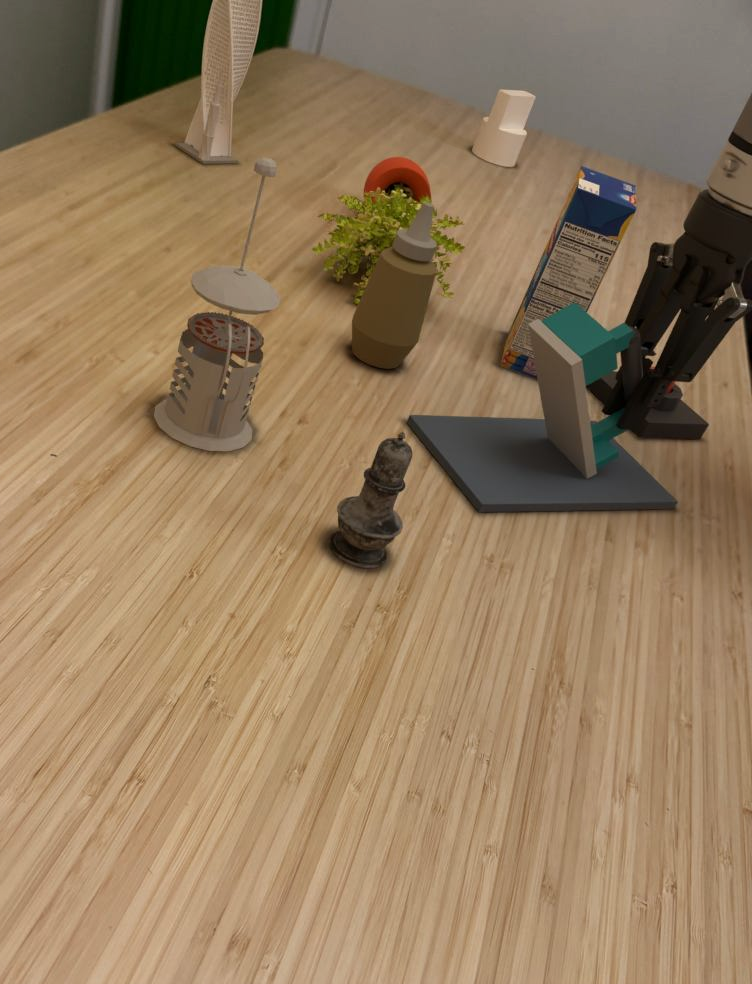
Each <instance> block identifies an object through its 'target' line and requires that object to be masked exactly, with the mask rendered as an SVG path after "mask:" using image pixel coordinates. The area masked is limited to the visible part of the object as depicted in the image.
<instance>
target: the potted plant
mask: <svg viewBox="0 0 752 984" xmlns="http://www.w3.org/2000/svg"><path fill="white" fill-rule="evenodd" d="M362 195H363V198H362V200H360V199H359V198H358V197H356V196H352V195H345V194H344V193H342V194H341V196H340V195H338V196H337V199H338V200H340V203H341V204H344V206H345V207H346V206H347V208H348V209H347V210H348V211H347V213H350V212H351V211H353V212H352V213H353V214H356V212H358V214H356V215H354V216H346V217H345V215H343V214H340V215H339V214H337V213H331V212H330V213H321V214H318V215H317V218H321V217H322V219H324V221H325V222H327V223H328V224H331V223H332V222H334V221H335V223H336V227H335V228H334V230H329V229H326V230H325V231H326V232H327V234H328V235H329V236H331V237H330V238H329V241H330V242H328V239H326V238H324V240H323V242H324V244H322V243H321V242H320V241H318V244H317V246H313V247H311V250H312V251H313V252H315V253H314V255H319V254H320V252H321V253H323V254H324V253H325V252H326V251H327V248H328V249H333V248H335V247H336V246H337V247H336V254H337V255H336V254H334V252H331V255H329V256H328V258H327V259H326V262H323V265H324V269H323V270H324V272H325V271H329V270H334V266H333V265H335V264H336V261H340V262H341V263H342V264H341V265H340V264H339V263H337V267H335V273H332V274H331V276H333V277H334V278H336V282H339V281H340V279H343V278H344V274H345V273H347V271H348V274H350V275H354V274H356V273H358V271H359V268H360V266H359V265H360V264H361V263H362V262H363V261H364V260H366V258H364V257H363V256H366V257H368V260H370V263H369V262H365V264H366V270H367V271H366V272H365V275H364V273H362V275H361V277H360V279H361V281H360V282H359V283H357V282H353V285H354V286H356V287H357V292H356V293H355V296H354V299H353V301H352V302H353V303H354V304H356V305H358V304H359V302H360V299H361V298H358V297H362V295H363V292H364V290H365V288H366V286H367V283H368V281H369V279H370V277H371V274H372V272H373V270H374V267H375V265H376V263H377V261H378V258H379V256H380V254H381V252H382V251H383V250H385V249H387V248H389V247H392V246H393V242H394V239H395V236H396V233H397V231H398V230H401V229H408V228H409V227H410V225H411V223H412V222H413V220H414V218H415V217H416V215H417V213H418V211H419V210H420V208H421V206H422V205H423V203H424V202H428V203H431V204H432V203H433V201H432V193H431V185H430V182H429V179H428V176H427V175H426V173H425V171H424V170H423V169H422V167H421V166H420V165H419V164H418V163H416V162H415V161H413V160H412V159H410V158H407V157H403V156H391V157H388V158H385V159H383V160H381V161H380V162H378V163H377V164H376V165H374V167H373V168H372V169H371V171H370V172H369V173H368V175H367V177H366V179H365V182H364V187H363V194H362ZM433 218H436V222H435V220H433ZM448 218H449V219H448ZM461 225H465V222H463V221H460V217H459V215H457V217H456V218H455V220H454V218H453V217H452V216H451V215H450V216H449V214H448V213H445V214H444V215H443V218H441V217H438V207H436V208H435V209H434V210H433V217H432V224H431V231H430V237H431V238H432V239H434V241H435V242H436V243H437V247H436V250H435V253H434V258H432V262H433V263H434V265H435V266H436V268H437V267H438V263H439V267H440V268H439V270H442V271H439V270H438V269H436V275H435V278H436V281H437V283H439V285H440V287H441V289H442V291H443V293H442V292H438V291H437V295H440V296H441V297H443V298H451V299H453V298H454V296H452V295H454V294H455V292H453V291H448V290H449V289H450V283H446V282H445V281H444V276H445V274H444V273H446V272H447V268H451V265H453V264H454V261H453V260H452V259H450V258H451V254H450V253H452V254H453V256H456V255H457V254H458V253H461V254H462V253H463V250H465V248H466V246H464V245H462V243H459V242H458V241H457V242H455V237H454V236H452V237H451V238H449V237H448V234H444V235H441V234H442V232H441V230H440V229H443V230H446V229H447V228H456V227H458V226H461ZM330 243H331V244H330ZM323 246H324V247H323ZM441 246H442V249H445V250H444V252H441V251H439V250H440V248H441ZM448 252H450V253H448ZM444 256H445V257H444ZM345 257H346V258H347V260H346V258H345ZM436 259H437V260H438V261H439V262H438V261H434V260H436ZM346 269H347V270H346ZM367 276H368V277H367ZM437 276H438V277H437Z"/></svg>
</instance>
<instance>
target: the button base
mask: <svg viewBox="0 0 752 984" xmlns="http://www.w3.org/2000/svg"><path fill="white" fill-rule="evenodd" d="M617 372H618V371H616V370H614V371H612V372H610V373H609V374H607V375H605V376H603V377H601V378H600V379H598V380H596V381H594V382H592V383H591V384H589V385H587V386H586V389H588V390H589V391H590V392H591V393H592V394H594V396H596V397H597V398H598V399H599V400H600V401H601V402H602V403H603V404H604V405H605V403H606V401H607V399H608V397H609V396H610V394H611V392H612V390H613V388H614V386H615V384H616V383H617V380H616V379H615V378H616V374H617ZM683 397H684V394H683V391H682V389H681V387H680V386H679V385H677V384H676V383H675V384H674V386H673V388H672V389H671V391H670V393H665V394H664V396H663V398H662V400H661V401H660V403H659V404H658V405H657V406H656V407H652V408H651V409H650V411H649V413H648V415H647V416H646V418H645V420H644V422H643V423H642V425H641V427H640V429H639V430H631V431H632V432H633V433H634V434H635V435H636V436H637V437H638V438H639V439H667V440H668V439H669V440H670V439H673V440H677V439H678V440H701V439H702V437H703V435H704V434H705V432H706V431H707V429H708V427H709V425H710V423H709V422H708V421H706V420H705V419H704V418H703V416H701V415H700V414H698V413H697V412H696V411H695V410H694V409H693V408H691V407H690V406H689V405H688V404H687V403H685V401H683V400H682V398H683Z"/></svg>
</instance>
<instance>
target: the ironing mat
mask: <svg viewBox="0 0 752 984" xmlns="http://www.w3.org/2000/svg"><path fill="white" fill-rule="evenodd" d="M597 422H598V421H596V420H590V423H591V424H592V425H593V424H595V423H597ZM406 424H407V425H408V426H409V427H410V429H411V430H412V431H413V432H414V433H415V435H416V436H417V438H419V440H420V441H421V442H422V444H423V445H424V446H425V447H426V448H427V450H428V451H429V453H430V454H431V455H432V456H433V457H434V459H435V460H436V461H437V463H439V465H440V466H441V467H442V469H443V470H444V471H445V472H446V474H447V475H448V476H449V477H450V478H451V480H452V481H453V482H454V483H455V485H456V486H457V488H459V490H460V491H461V492H462V493H463V495H464V496H465V497H466V498H467V500H468V501H469V503H470V504H472V506H473V507H474V509H476V511H477V512H478V513H507V512H508V513H510V512H511V513H512V512H515V513H516V512H517V513H518V512H567V511H568V512H570V511H571V512H573V511H576V512H577V511H628V510H629V511H630V510H631V511H632V510H640V511H641V510H675V508H676V506H677V504H678V503H679V501H678V500H677V499H676V498H675V497H674V496H673V495H672V494H671V493H670V492H669V491H668V490H667V489H666V488H665V487H664V486H663V485H662V484H661V483H660V482H659V481H658V480H657V479H656V478H655V476H653V475H652V474H650V472H649V471H648V470H646V468H645V467H644V466H642V465H641V463H639V462H638V461H637V459H636V458H635V457H634V456H632V455H631V454H630V453H629V452H628V451H627V450H626V449H625V448H624V446H622V445H621V444H620V443H619V441H617V440H616V439H615V438H613V439H611V440H609V442H610V443H611V444H612V445H613V446H614V447H615V448H616V449H617V450H618V451H619V457H618V458H616V459H615V460H613V461H611V462H609V463H607V464H606V465H604V466H602V467H600V468H598V469H597V470H596V471H597V474H595V475H593V476H591V477H590V478H588V479H587V478H586V477H585V476H584V475H583V474H582V473H581V472H580V471H579V470H578V469H577V468H576V466H575V465H574V464H573V463H572V462H571V461H570V460H569V459H568V458H567V457H566V456H565V455H564V454H563V453H562V452H561V451H560V450H559V448H558V447H557V446H556V445H555V444H554V443H553V442H552V441H551V440H550V439H549V438H548V436H547V430H546V425H545V419H544V418H524V417H522V418H521V417H491V416H461V415H460V416H459V415H458V416H457V415H431V414H430V415H429V414H409V415H408V418H407V421H406Z"/></svg>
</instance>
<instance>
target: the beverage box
mask: <svg viewBox="0 0 752 984" xmlns="http://www.w3.org/2000/svg"><path fill="white" fill-rule="evenodd" d="M636 186H637V185H635V184H633V183H630V182H627V181H624V180H621V179H619V178H616V177H614V176H610V175H607V174H605V173H603V172H600V171H597V170H594V169H592V168H588V167H586V166H583V165H580V168H579V169H578V172H577V174H576V176H575V179H574V181H573V183H572V186H571V188H570V191H569V193H568V195H567V197H566V199H565V202H564V204H563V206H562V208H561V211H560V213H559V215H558V218H557V220H556V223H555V224H554V227H553V229H552V232H551V234H550V237H549V238H548V241H547V243H546V245H545V248H544V250H543V252H542V255H541V257H540V259H539V262H538V264H537V266H536V268H535V271H534V273H533V275H532V278H531V279H530V282H529V284H528V287H527V289H526V292H525V294H524V296H523V299H522V300H521V303H520V304H519V305H520V306H519V308H518V309H517V312H516V315H515V316H514V319H513V322H512V324H511V326H510V328H509V331H508V333H507V336H506V340H505V345H504V349H503V353H502V357H501V361H500V367H502V368H505V369H507V370H510V371H512V372H516V373H518V374H521V375H524V376H527V377H529V378H532V379H534V380H536V381H538V379H537V373H536V368H535V362H534V356H533V351H532V345H531V339H530V334H529V328H528V324H529V323H531V322H533V321H535V320H536V319H539V320H540V321H542V320H544V319H545V318H547V317H549V316H551V315H553V314H554V313H556V312H558V311H560V310H561V309H563V308H565V307H567V306H569V305H570V304H572V303H574V302H575V303H576V304H578V305H579V306H580V307H581V308H582V309H583V310H584V311H586V312H587V313H588V311H589V309H590V307H591V305H592V304H593V300H595V296H596V294H597V293H598V291H599V288H600V286H601V284H602V282H603V280H604V278H605V276H606V274H607V272H608V269H609V267H610V265H611V264H612V261H613V260H614V257H615V255H616V253H617V251H618V249H619V247H620V245H621V242H622V240H623V238H624V237H625V234H626V232H627V230H628V228H629V226H630V224H631V221H632V220H633V217H634V215H635V213H636V211H637V190H636Z"/></svg>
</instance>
